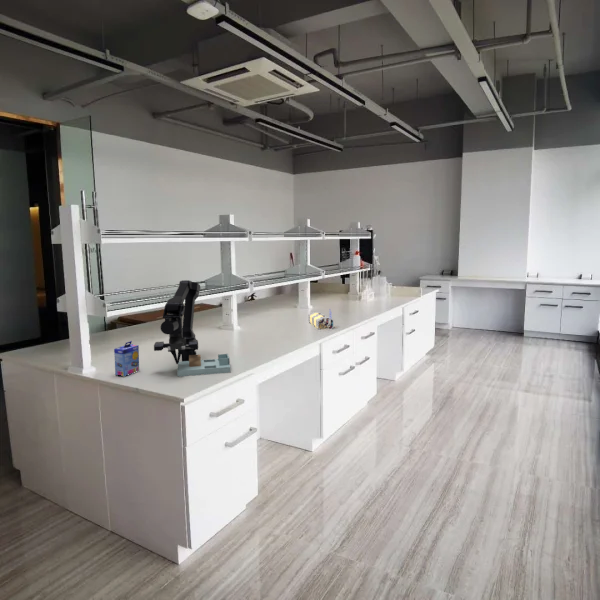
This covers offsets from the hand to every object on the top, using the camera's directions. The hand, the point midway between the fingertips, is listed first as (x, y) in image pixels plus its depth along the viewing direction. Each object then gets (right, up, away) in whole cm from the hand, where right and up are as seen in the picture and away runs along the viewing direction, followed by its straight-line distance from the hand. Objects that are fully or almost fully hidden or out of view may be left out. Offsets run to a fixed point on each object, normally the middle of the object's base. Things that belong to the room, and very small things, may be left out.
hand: (177, 363), depth 201 cm
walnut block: (+7, -1, +2) cm, 8 cm away
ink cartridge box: (-21, -4, -2) cm, 22 cm away
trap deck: (+11, -3, +3) cm, 12 cm away
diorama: (+68, +11, +101) cm, 122 cm away
